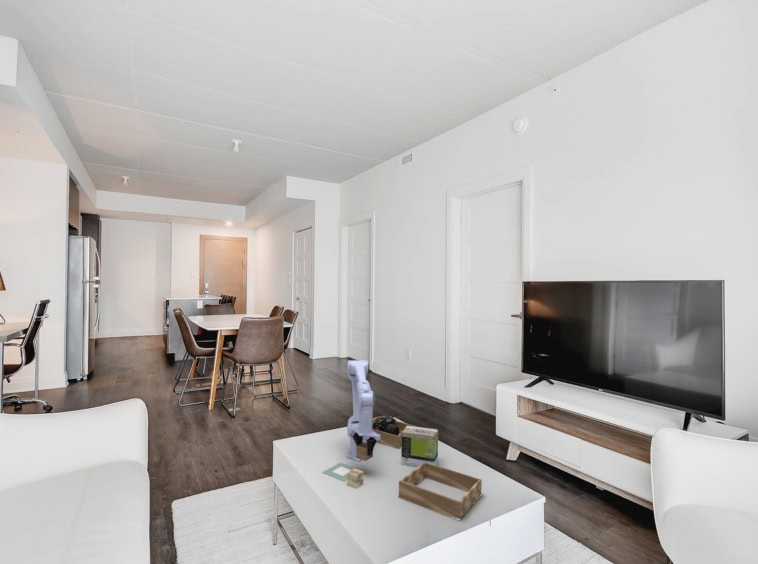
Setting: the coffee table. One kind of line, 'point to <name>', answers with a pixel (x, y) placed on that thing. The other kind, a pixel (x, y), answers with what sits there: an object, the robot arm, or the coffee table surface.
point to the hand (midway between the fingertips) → (364, 453)
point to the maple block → (355, 478)
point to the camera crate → (391, 435)
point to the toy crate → (436, 500)
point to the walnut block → (363, 452)
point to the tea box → (419, 446)
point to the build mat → (339, 471)
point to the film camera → (386, 425)
